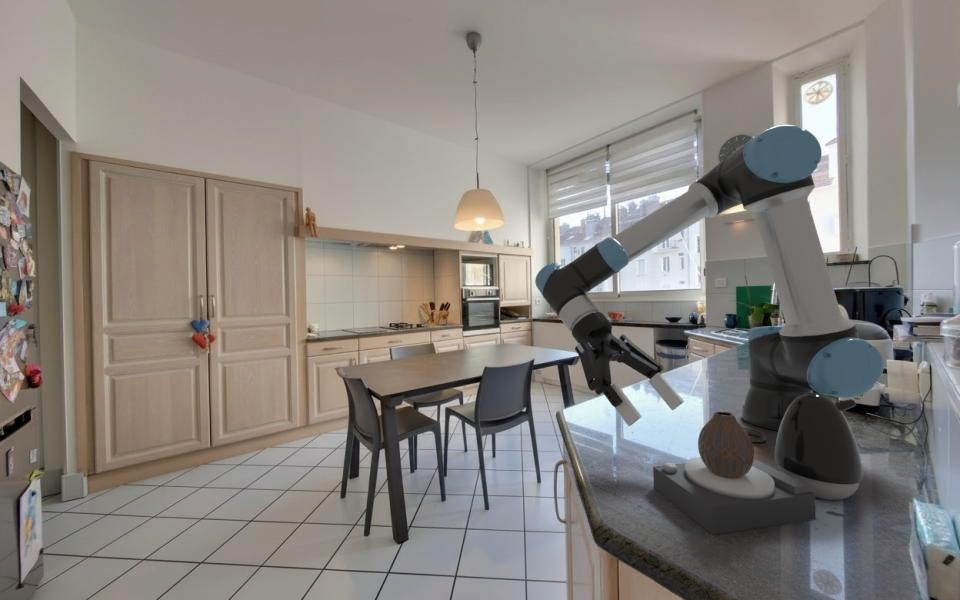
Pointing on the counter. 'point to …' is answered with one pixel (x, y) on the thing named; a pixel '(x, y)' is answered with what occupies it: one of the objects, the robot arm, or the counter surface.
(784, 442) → the pump dispenser
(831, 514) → the counter surface
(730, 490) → the turntable with oval dome
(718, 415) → the vase
